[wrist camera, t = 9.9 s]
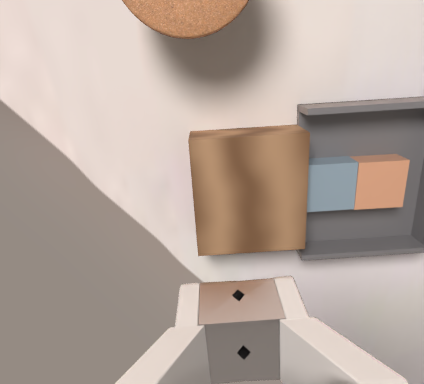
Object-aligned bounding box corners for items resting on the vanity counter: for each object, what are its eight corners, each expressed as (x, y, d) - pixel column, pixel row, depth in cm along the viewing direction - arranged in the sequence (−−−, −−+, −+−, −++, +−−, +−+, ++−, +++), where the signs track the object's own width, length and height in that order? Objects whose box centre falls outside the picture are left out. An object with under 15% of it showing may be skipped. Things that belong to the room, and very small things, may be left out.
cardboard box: (296, 124, 35) (310, 132, 30) (293, 229, 39) (305, 248, 35) (190, 131, 34) (188, 140, 30) (198, 235, 39) (198, 255, 34)
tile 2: (348, 155, 35) (358, 162, 33) (344, 200, 37) (353, 209, 35) (300, 159, 35) (307, 165, 33) (299, 202, 37) (305, 212, 35)
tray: (436, 95, 34) (460, 98, 31) (412, 236, 39) (431, 252, 36) (297, 104, 34) (307, 108, 31) (293, 244, 39) (301, 260, 36)
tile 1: (359, 163, 33) (348, 156, 35) (354, 209, 35) (344, 200, 37) (409, 160, 33) (396, 153, 35) (402, 207, 35) (389, 198, 37)
